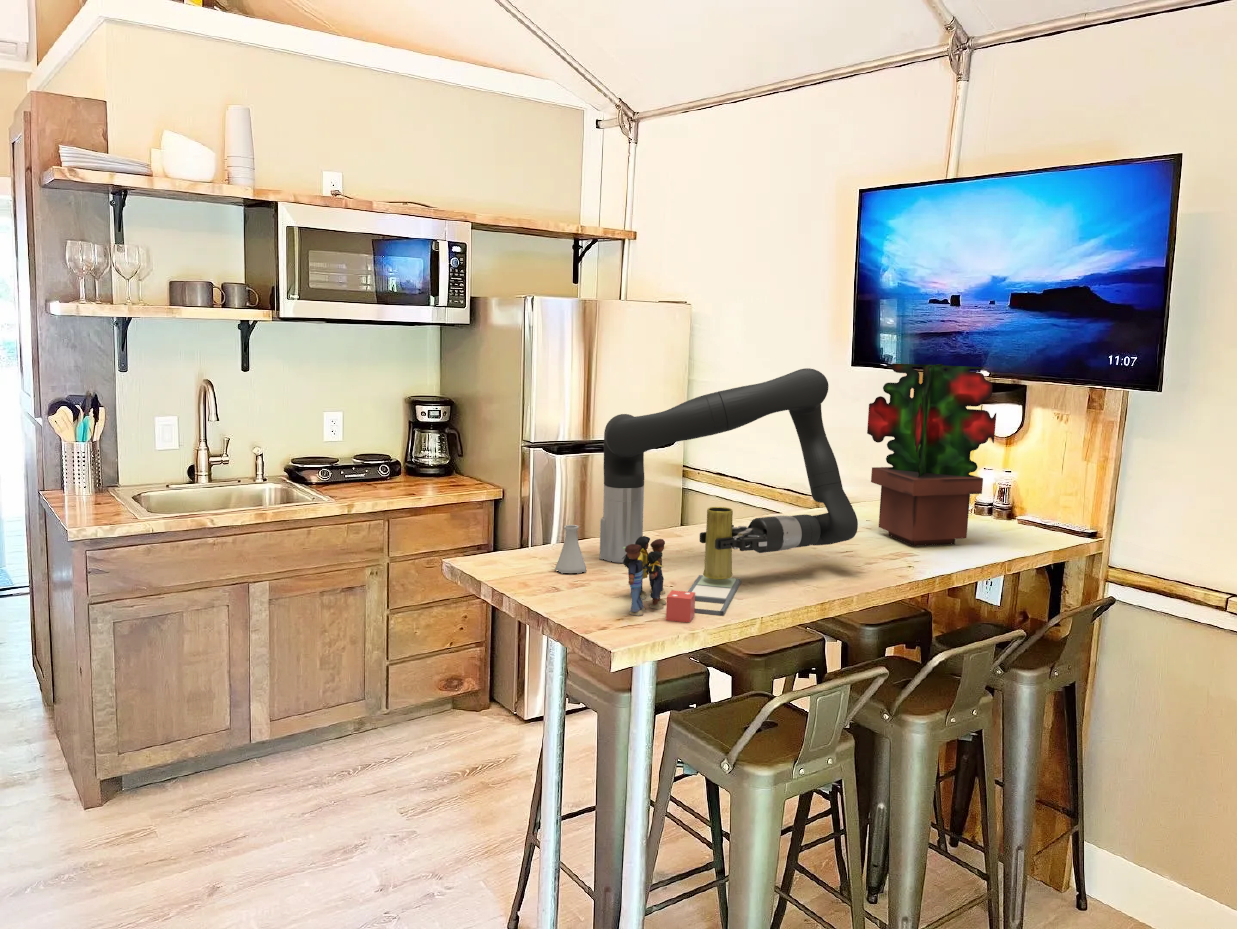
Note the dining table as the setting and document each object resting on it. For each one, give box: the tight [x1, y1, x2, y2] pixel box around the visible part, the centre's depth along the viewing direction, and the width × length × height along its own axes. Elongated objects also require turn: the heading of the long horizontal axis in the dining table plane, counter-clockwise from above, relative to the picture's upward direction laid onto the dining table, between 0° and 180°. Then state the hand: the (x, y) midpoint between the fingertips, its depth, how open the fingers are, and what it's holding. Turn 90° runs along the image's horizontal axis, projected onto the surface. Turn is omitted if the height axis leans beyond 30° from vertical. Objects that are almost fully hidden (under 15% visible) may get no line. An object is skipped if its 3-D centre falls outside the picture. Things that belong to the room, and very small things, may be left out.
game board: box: [687, 574, 742, 617], centre depth 194 cm, size 9×24×1 cm, turn 165°
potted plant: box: [866, 362, 997, 547], centre depth 245 cm, size 22×22×45 cm
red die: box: [665, 590, 696, 623], centre depth 179 cm, size 4×4×5 cm
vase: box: [702, 506, 734, 580], centre depth 201 cm, size 6×6×14 cm
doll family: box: [622, 535, 667, 617], centre depth 188 cm, size 23×9×13 cm, turn 1°
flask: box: [554, 524, 587, 574], centre depth 210 cm, size 7×7×10 cm
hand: (708, 541), depth 199 cm, fingers closed on vase, 5 cm apart
